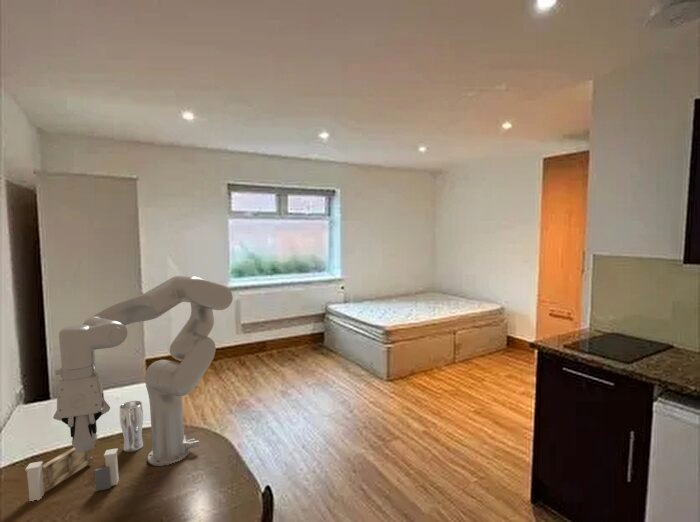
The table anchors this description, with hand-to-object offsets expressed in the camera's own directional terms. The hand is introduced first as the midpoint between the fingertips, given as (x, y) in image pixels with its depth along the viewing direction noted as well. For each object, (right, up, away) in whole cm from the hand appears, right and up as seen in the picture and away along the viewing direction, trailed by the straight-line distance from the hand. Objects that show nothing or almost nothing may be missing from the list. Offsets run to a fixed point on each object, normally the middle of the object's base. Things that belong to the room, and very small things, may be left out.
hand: (84, 436), depth 111 cm
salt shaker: (0, -3, 0) cm, 3 cm away
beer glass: (-1, -16, +28) cm, 32 cm away
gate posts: (-6, -18, +5) cm, 19 cm away
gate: (-12, -16, +11) cm, 23 cm away
